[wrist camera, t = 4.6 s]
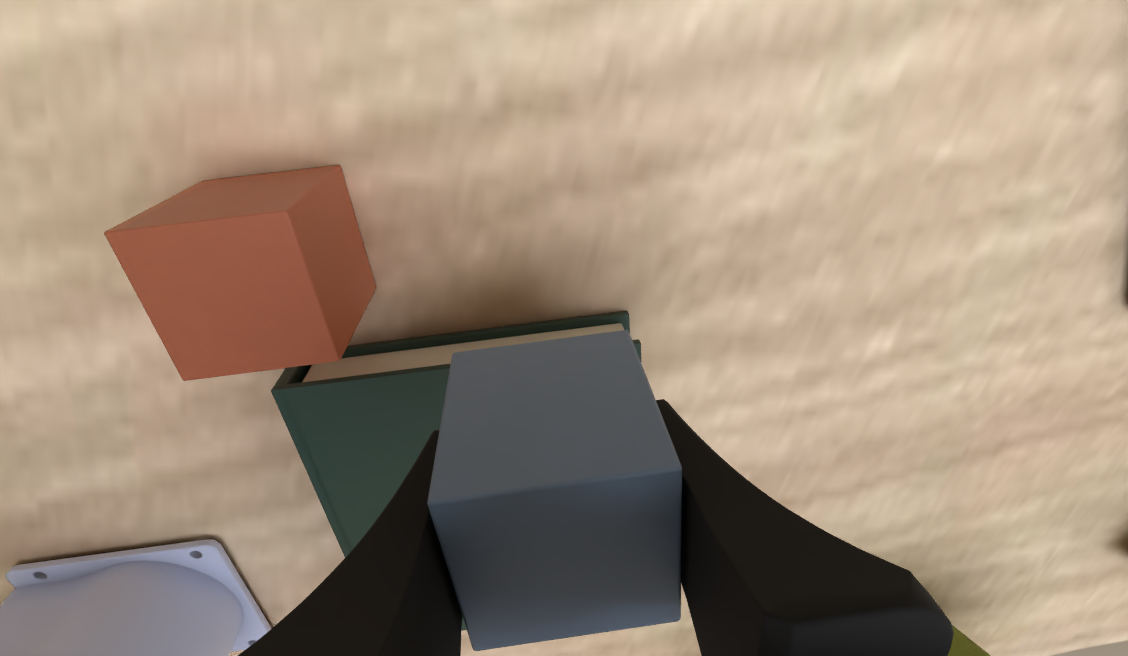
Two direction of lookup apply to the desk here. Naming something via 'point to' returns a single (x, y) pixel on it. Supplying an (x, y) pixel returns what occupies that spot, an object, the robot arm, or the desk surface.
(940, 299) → the desk surface
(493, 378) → the slate block
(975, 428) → the desk surface
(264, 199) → the terracotta block
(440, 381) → the book
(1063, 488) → the desk surface
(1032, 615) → the desk surface
